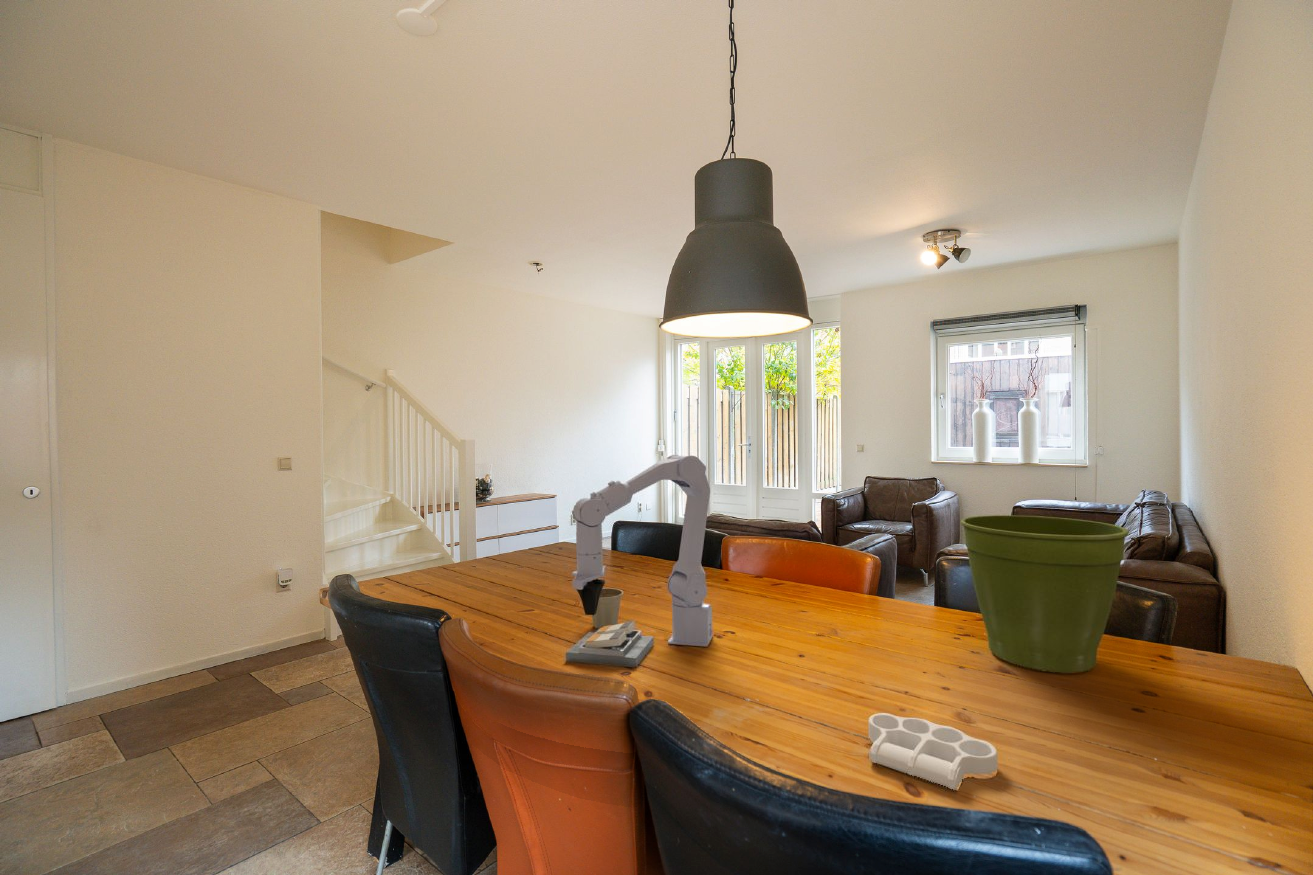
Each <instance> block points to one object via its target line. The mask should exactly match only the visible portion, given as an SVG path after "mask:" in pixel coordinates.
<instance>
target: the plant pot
mask: <svg viewBox="0 0 1313 875" xmlns="http://www.w3.org/2000/svg"><path fill="white" fill-rule="evenodd" d="M960 523H961V526H963V529H964V530H963V531H964V540H965V541H964V542H965V547H966V549H967V557H968V562H969V567H970V573H971V577H972V578H971V579H972V582H973V587H974V591H975V594H976V598H977V603H978V607H979V611H980V614H981V616H982V620H983V624H984V626H985V630H986V634H987V643H988V645H987V646H988V649H989V651H990V652H992V654H994V656H996V657H998V658H999V659H1002V660H1004V661H1006V662H1008V663H1011V664H1013V665H1016V664H1017V665H1016V666H1019V665H1020V666H1019V667H1022V666H1024V667H1023V668H1026V667H1028V668H1027V669H1030V668H1032V669H1031V670H1035V669H1038V670H1037V671H1040V670H1044V671H1043V672H1046V671H1050V672H1049V673H1055V672H1066V673H1065V674H1074V673H1073V672H1080V673H1085V672H1087V670H1088V671H1090V669H1091V670H1093V669H1094V668H1095V667H1096V665H1097V657H1098V656H1097V654H1098V650H1099V649H1098V648H1099V647H1100V643H1101V641H1102V638H1103V635H1104V632H1105V629H1106V626H1107V622H1108V620H1109V617H1110V613H1111V608H1112V605H1113V600H1114V597H1115V592H1116V590H1117V585H1118V578H1119V573H1120V569H1121V562H1122V561H1123V560H1124V552H1125V551H1124V550H1125V540H1126V539H1125V538H1126V537H1127V536H1129V530H1128V528H1126V527H1123V526H1119V525H1116V524H1111V523H1106V522H1100V521H1093V520H1086V519H1085V520H1084V519H1077V518H1076V519H1075V518H1066V517H1065V518H1064V517H1052V516H1038V515H1016V514H1014V515H1012V514H1011V515H1010V514H1009V515H1007V514H1003V515H1002V514H1001V515H1000V514H999V515H997V514H996V515H995V514H993V515H975V516H968V517H965V518H961V520H960ZM1092 668H1093V669H1092ZM1084 671H1085V672H1084Z"/></svg>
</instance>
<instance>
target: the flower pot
mask: <svg viewBox="0 0 1313 875" xmlns="http://www.w3.org/2000/svg"><path fill="white" fill-rule="evenodd" d="M623 595H624V591H623V590H622V589H618V588H613V587H612V588H611V587H603V588H602V591H601V594H600V597H599V602H598V607H597V611H596V614H595V615H591V618H592V624H593V627H594V628H595V629H597V630H599V629H600V628H603V627H604V626H609V625H617V624H619V612H620V605H621V600H622V598H623Z"/></svg>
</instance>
